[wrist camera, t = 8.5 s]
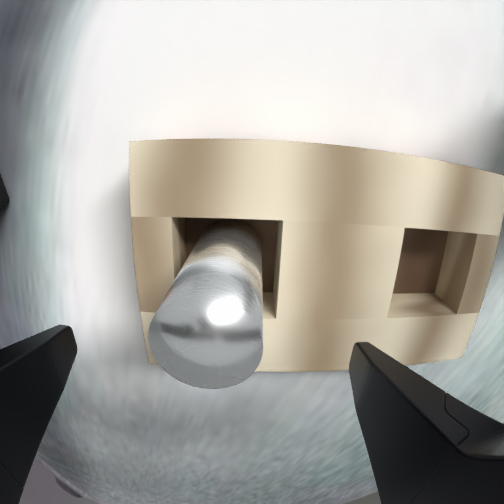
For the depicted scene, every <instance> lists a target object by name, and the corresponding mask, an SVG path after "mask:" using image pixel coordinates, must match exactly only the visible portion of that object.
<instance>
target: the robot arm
mask: <svg viewBox="0 0 504 504" xmlns="http://www.w3.org/2000/svg"><path fill="white" fill-rule="evenodd" d="M76 354H77V345H76V341H75V338H74V334H73V330H72V328H71V327H70V326H67V325H57V326H55V327H53V328H50V329H48V330H45V331H43V332H41V333H38V334H36V335H34V336H31V337H29V338H26V339H24V340H22V341H19V342H17V343H15V344H12V345H10V346H7V347H5V348H3V349H0V504H19V501H20V498H21V495H22V492H23V489H24V488H23V487H24V486H25V483H26V480H27V477H28V474H29V472H30V469H31V466H32V463H33V461H34V458H35V456H36V453H37V450H38V448H39V445H40V443H41V440H42V438H43V435H44V433H45V431H46V428H47V426H48V424H49V421H50V419H51V417H52V414H53V412H54V410H55V408H56V405H57V403H58V401H59V399H60V397H61V394H62V392H63V390H64V387H65V385H66V382H67V379H68V376H69V373H70V371H71V368H72V365H73V362H74V360H75V357H76ZM349 373H350V379H351V385H352V391H353V396H354V402H355V408H356V412H357V416H358V419H359V423H360V426H361V430H362V433H363V437H364V440H365V444H366V447H367V451H368V454H369V458H370V462H371V465H372V469H373V473H374V477H375V480H376V484H377V488H378V492H379V496H380V500H381V504H504V424H502V423H500V422H498V421H496V420H494V419H492V418H490V417H488V416H486V415H485V414H483V413H481V412H479V411H477V410H475V409H473V408H471V407H469V406H468V405H466V404H464V403H463V402H461V401H459V400H458V399H456V398H454V397H453V396H451V395H450V394H448V393H446V394H445V391H443V390H442V389H440V388H439V387H437V386H436V385H434V384H432V383H431V382H429V381H428V380H426V379H425V378H423V377H422V376H420V375H418V374H417V373H415V372H414V371H412V370H411V369H409V368H408V367H406V366H405V365H403V364H401V363H400V362H398V361H397V360H395V359H394V358H392V357H391V356H389V355H388V354H386V353H384V352H383V351H381V350H380V349H378V348H377V347H375V346H374V345H372V344H371V343H369V342H356V343H355V344H354V346H353V350H352V354H351V358H350V362H349Z"/></svg>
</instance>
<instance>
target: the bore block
mask: <svg viewBox="0 0 504 504" xmlns="http://www.w3.org/2000/svg"><path fill="white" fill-rule="evenodd" d="M129 183H130V208H131V225H132V239H133V252H134V262H135V272H136V281H137V290H138V298H139V306H140V313H141V320H142V326H143V333H144V339H145V345H146V351H147V357H148V362H149V364H157V365H159V363H158V362H157V361H156V359H155V358H154V356H153V354H152V352H151V349H150V346H149V340H148V331H149V326H150V323H151V321H152V319H153V317H154V315H155V313H156V312H157V310H158V308H159V306H160V304H161V303H162V301H163V299H164V297H165V296H166V294H167V292H168V291H169V289H170V287H171V285H172V284H173V282H174V280H175V279H176V277H177V275H178V273H179V272H180V270H181V268H182V267H183V265H184V263H185V262H186V260H187V258H188V257H189V255H190V253H191V252H192V250H193V248H194V247H195V245H196V243H197V242H198V240H199V238H200V237H201V235H202V233H203V232H204V230H205V229H206V228H207V227H208V226H209V225H210V224H212V223H213V222H215V221H217V220H220V219H225V218H230V219H239V220H242V221H244V222H246V223H248V224H249V225H250V226H251V227H253V228H254V230H255V231H256V232H257V234H258V235H259V237H260V240H261V244H262V293H263V354H262V358H261V362H260V364H259V366H258V367H257V369H256V370H255V371H263V372H310V371H340V370H349V362H350V358H351V354H352V350H353V346H354V344H355V343H356V342H369V343H371V344H372V345H374V346H375V347H377V348H378V349H380V350H381V351H383V352H384V353H386V354H388V355H389V356H391V357H392V358H394V359H395V360H397V361H398V362H400V363H401V364H403V365H414V364H422V363H430V362H438V361H444V360H451V359H457V358H462V356H463V354H464V351H465V349H466V346H467V344H468V341H469V339H470V336H471V334H472V331H473V328H474V325H475V323H476V320H477V317H478V314H479V311H480V308H481V305H482V302H483V299H484V295H485V292H486V289H487V285H488V282H489V278H490V275H491V271H492V267H493V263H494V259H495V255H496V251H497V246H498V241H499V237H500V232H501V226H502V221H503V215H504V175H500V174H496V173H492V172H488V171H484V170H480V169H476V168H472V167H468V166H463V165H459V164H454V163H449V162H444V161H439V160H434V159H429V158H424V157H418V156H412V155H406V154H400V153H394V152H387V151H380V150H373V149H366V148H358V147H349V146H340V145H330V144H319V143H307V142H294V141H277V140H255V139H166V140H145V141H129Z"/></svg>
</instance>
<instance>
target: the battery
mask: <svg viewBox="0 0 504 504" xmlns="http://www.w3.org/2000/svg"><path fill="white" fill-rule="evenodd" d="M8 201H9V197H8V194H7V192H6V189H5V186H4V184H3V181H2V178H1V175H0V210H1V209H2V208H3V207H4V206H5V205H6V204H7V203H8Z"/></svg>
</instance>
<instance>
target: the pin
mask: <svg viewBox="0 0 504 504" xmlns="http://www.w3.org/2000/svg"><path fill="white" fill-rule="evenodd" d="M148 340H149V346H150V349H151V352H152V354H153V356H154V358H155V359H156V361H157V362H158V363H159V365H160V366H161V367H162V368H163V369H164V370H165V371H166V372H167V373H168V374H170V375H171V376H173V377H174V378H176V379H178V380H179V381H181V382H184V383H186V384H188V385H191V386H195V387H199V388H206V389H219V388H226V387H230V386H233V385H236V384H238V383H240V382H242V381H244V380H245V379H247V378H248V377H249V376H251V375H252V374H253V373H254V371H255V370H256V369H257V367H258V366H259V364H260V362H261V358H262V354H263V293H262V244H261V240H260V237H259V235H258V234H257V232H256V231H255V230H254V228H253V227H251V226H250V225H249V224H248V223H246V222H244V221H242V220H239V219H230V218H225V219H220V220H217V221H215V222H213V223H212V224H210V225H209V226H208V227H207V228H206V229H205V230H204V232H203V233H202V235H201V237H200V238H199V240H198V242H197V243H196V245H195V247H194V248H193V250H192V252H191V253H190V255H189V257H188V258H187V260H186V262H185V263H184V265H183V267H182V268H181V270H180V272H179V273H178V275H177V277H176V279H175V280H174V282H173V284H172V285H171V287H170V289H169V291H168V292H167V294H166V296H165V297H164V299H163V301H162V303H161V304H160V306H159V308H158V310H157V312H156V313H155V315H154V317H153V319H152V321H151V323H150V326H149V331H148Z"/></svg>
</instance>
